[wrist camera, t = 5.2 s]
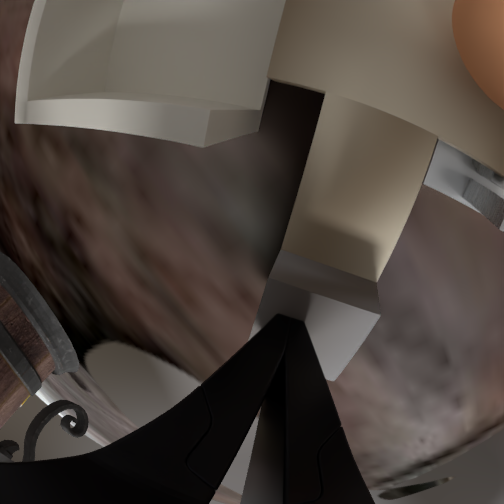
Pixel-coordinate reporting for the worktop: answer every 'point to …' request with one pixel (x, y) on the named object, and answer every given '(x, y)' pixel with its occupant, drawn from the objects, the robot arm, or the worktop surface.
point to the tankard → (31, 357)
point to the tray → (149, 66)
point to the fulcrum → (466, 182)
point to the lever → (366, 153)
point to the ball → (482, 43)
